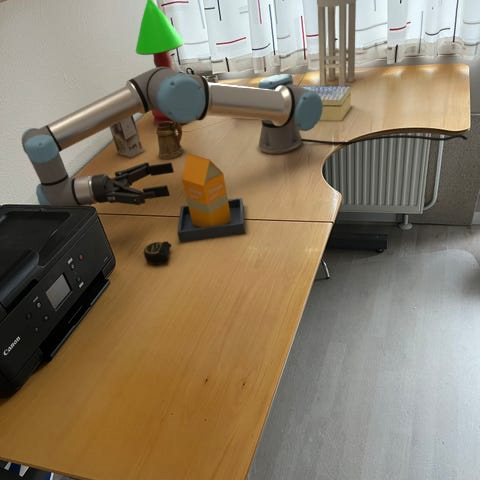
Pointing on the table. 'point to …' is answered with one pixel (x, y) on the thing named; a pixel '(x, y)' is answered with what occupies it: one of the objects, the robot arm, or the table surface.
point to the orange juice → (205, 192)
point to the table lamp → (157, 43)
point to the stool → (330, 2)
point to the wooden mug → (169, 139)
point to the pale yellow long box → (333, 101)
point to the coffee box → (126, 137)
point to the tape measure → (157, 252)
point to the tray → (193, 232)
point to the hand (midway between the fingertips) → (170, 178)
